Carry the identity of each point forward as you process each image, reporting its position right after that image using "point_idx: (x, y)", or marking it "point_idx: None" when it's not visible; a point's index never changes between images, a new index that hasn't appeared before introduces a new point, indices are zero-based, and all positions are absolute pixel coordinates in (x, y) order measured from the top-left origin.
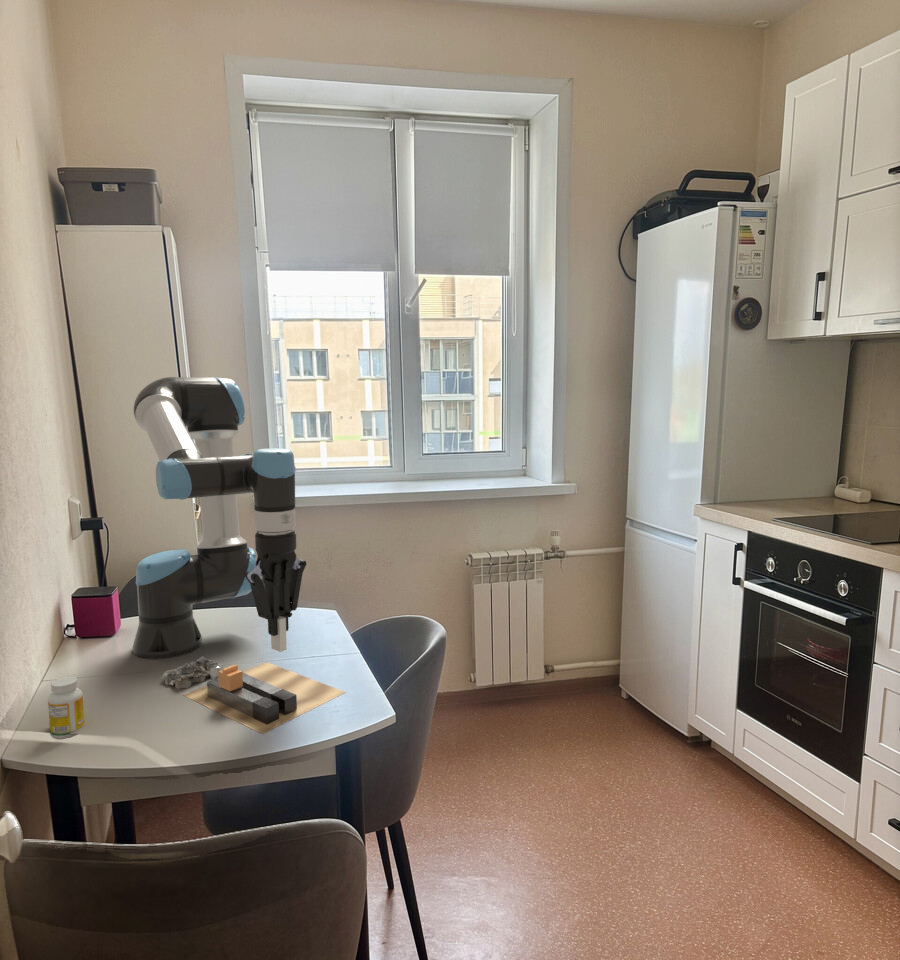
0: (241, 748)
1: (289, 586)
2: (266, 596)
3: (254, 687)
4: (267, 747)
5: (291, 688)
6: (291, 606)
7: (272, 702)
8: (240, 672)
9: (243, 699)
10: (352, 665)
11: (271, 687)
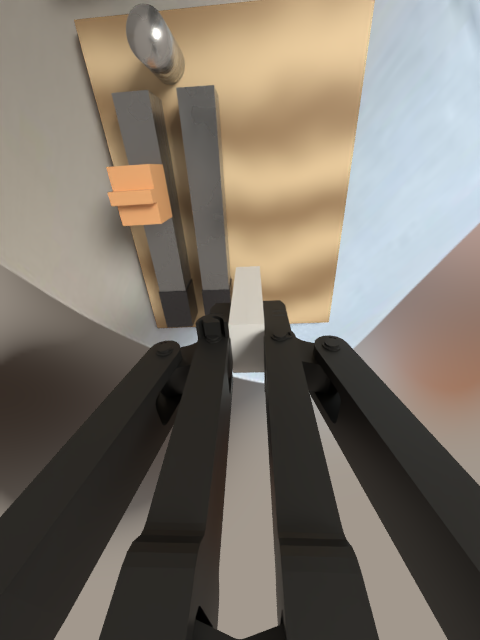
0: (129, 318)
1: (382, 462)
2: (131, 498)
3: (195, 232)
4: (158, 339)
5: (284, 234)
6: (311, 393)
7: (185, 319)
8: (157, 223)
9: (153, 262)
10: (467, 217)
11: (219, 265)
